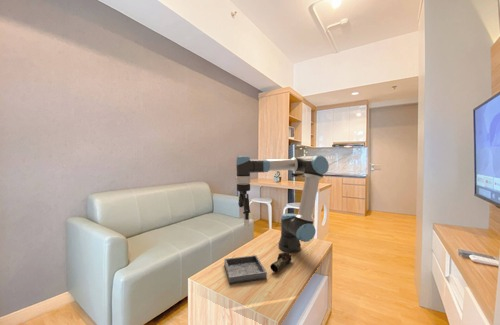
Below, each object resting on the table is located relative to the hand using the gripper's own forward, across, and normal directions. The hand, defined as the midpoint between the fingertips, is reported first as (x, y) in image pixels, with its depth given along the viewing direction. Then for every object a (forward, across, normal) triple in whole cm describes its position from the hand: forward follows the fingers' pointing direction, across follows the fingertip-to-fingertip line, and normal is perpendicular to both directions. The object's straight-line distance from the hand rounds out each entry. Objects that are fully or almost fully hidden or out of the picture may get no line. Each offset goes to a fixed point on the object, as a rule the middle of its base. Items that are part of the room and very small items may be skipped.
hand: (243, 221), depth 111 cm
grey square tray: (+26, +4, -1) cm, 26 cm away
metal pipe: (+29, +7, +16) cm, 34 cm away
